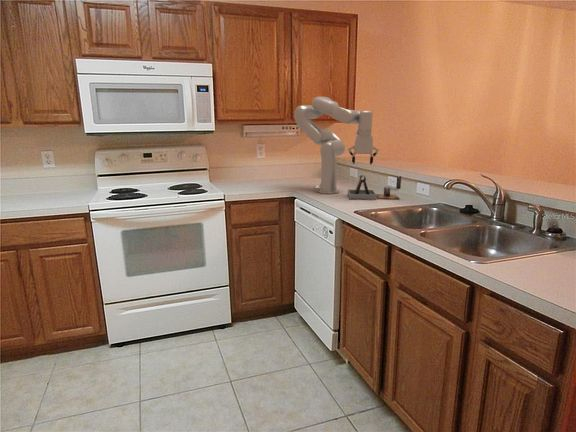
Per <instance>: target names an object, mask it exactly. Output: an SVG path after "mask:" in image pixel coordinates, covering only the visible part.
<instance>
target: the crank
mask: <svg viewBox="0 0 576 432" xmlns="http://www.w3.org/2000/svg"><path fill="white" fill-rule="evenodd" d="M401 185H402V175H397V176H396V186H395V187H391V186H384V187H383V194H384V196H390V194H391V191H396V192H399V190H400V189H401V187H402V186H401Z"/></svg>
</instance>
